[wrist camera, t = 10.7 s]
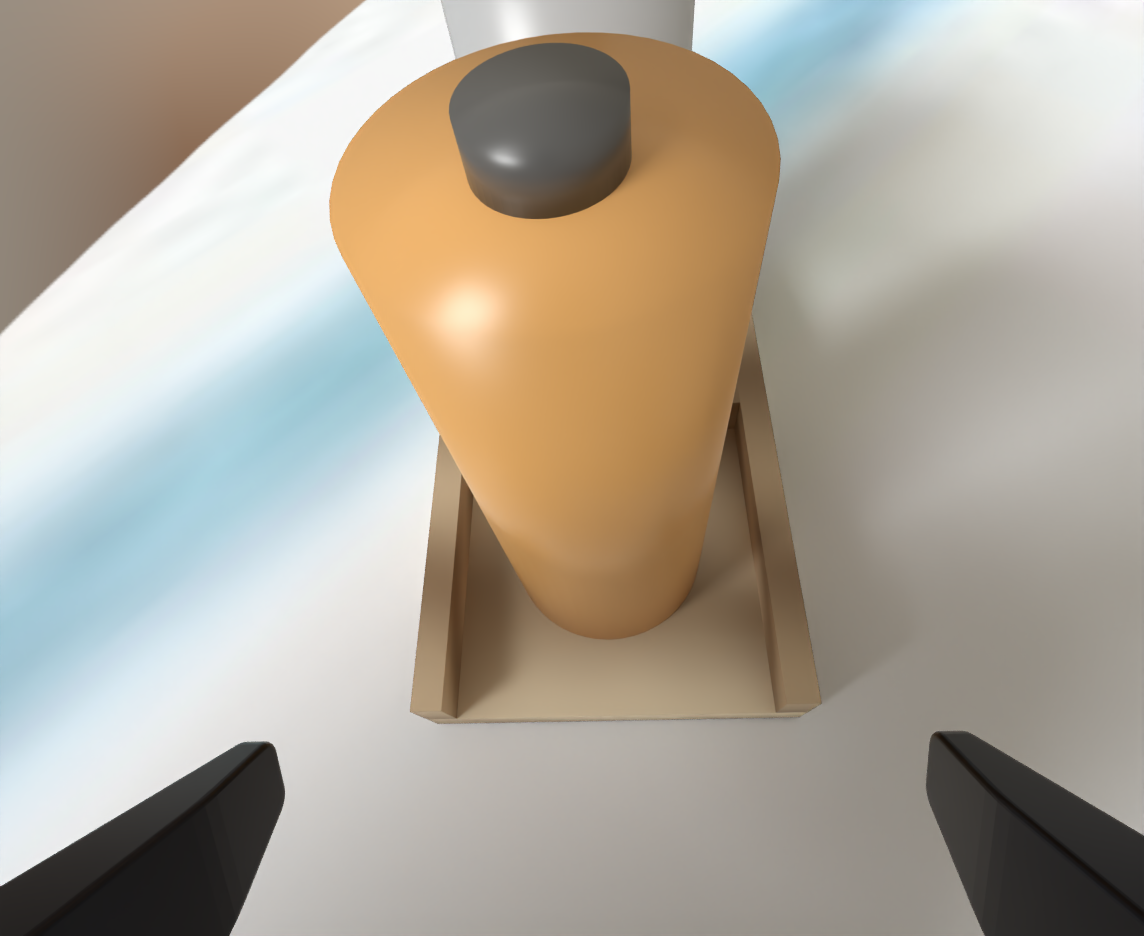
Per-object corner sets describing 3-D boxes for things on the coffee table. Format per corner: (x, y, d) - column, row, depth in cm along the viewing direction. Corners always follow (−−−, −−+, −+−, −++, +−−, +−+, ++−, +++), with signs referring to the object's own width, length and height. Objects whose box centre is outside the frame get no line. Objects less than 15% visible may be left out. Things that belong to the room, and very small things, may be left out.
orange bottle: (648, 675, 17) (649, 360, 5) (483, 584, 19) (196, 187, 7) (729, 512, 19) (866, 7, 7) (573, 443, 21) (472, -61, 9)
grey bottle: (588, 412, 21) (514, -104, 9) (497, 321, 24) (342, -188, 12) (707, 326, 23) (777, -230, 11) (609, 247, 25) (574, -284, 13)
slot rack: (799, 716, 17) (821, 703, 15) (438, 723, 18) (409, 711, 16) (722, 241, 26) (729, 188, 24) (478, 261, 27) (463, 212, 25)
